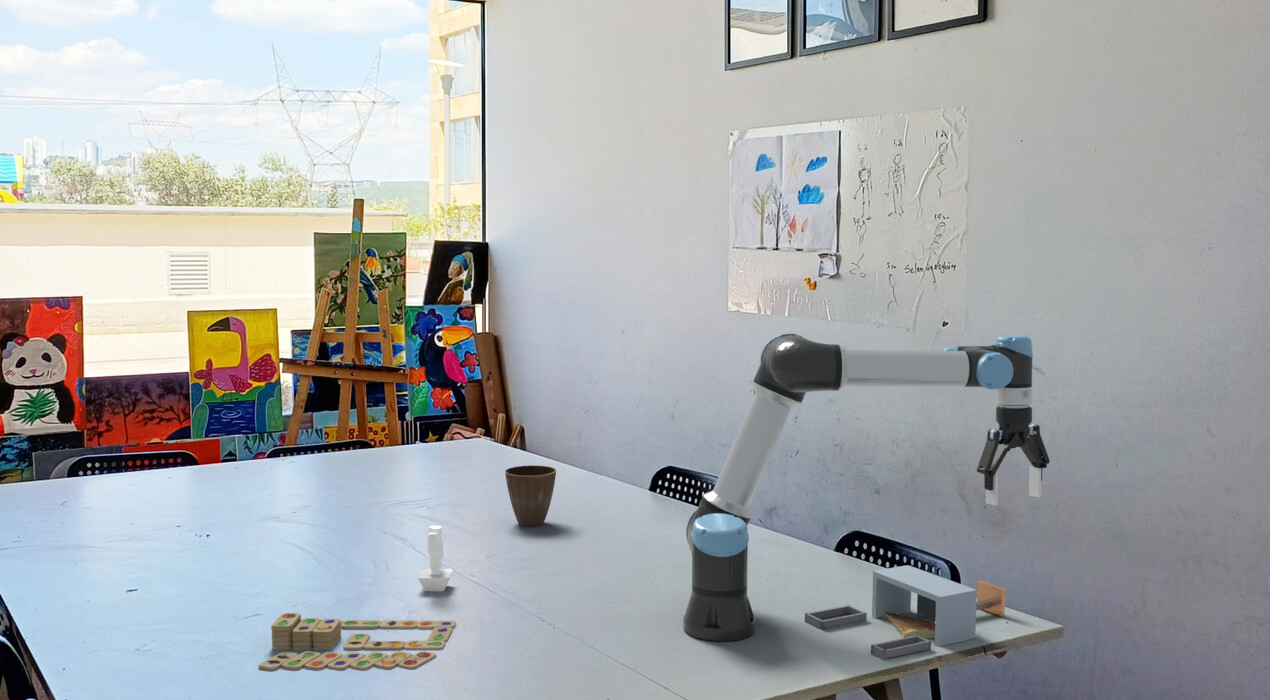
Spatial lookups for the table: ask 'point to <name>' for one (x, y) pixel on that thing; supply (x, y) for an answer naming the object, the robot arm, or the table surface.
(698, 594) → the robot arm
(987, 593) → the plunger
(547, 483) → the plant pot
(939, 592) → the tunnel
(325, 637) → the pile of dominoes
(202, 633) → the table surface
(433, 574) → the figurine
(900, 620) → the pizza slice
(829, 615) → the tray
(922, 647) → the tray
